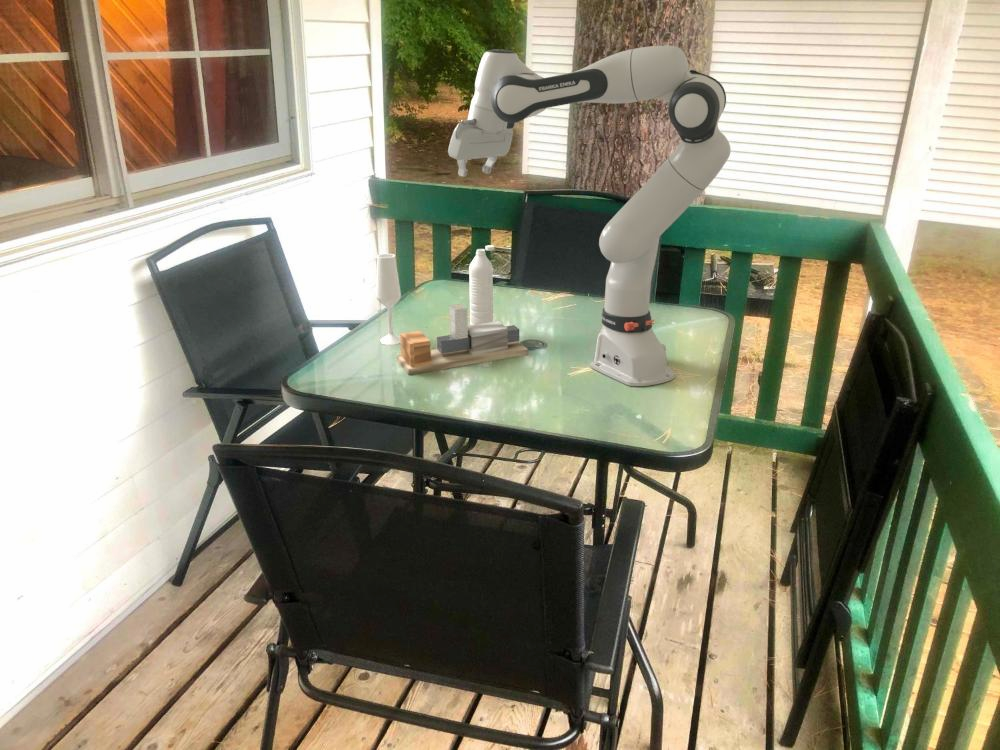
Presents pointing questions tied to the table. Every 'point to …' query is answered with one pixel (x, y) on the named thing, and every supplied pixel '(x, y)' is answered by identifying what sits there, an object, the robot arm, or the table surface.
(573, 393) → the table surface
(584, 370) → the table surface
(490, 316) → the water bottle
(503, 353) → the base
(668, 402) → the table surface
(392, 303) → the champagne flute
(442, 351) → the slider with upright handle
